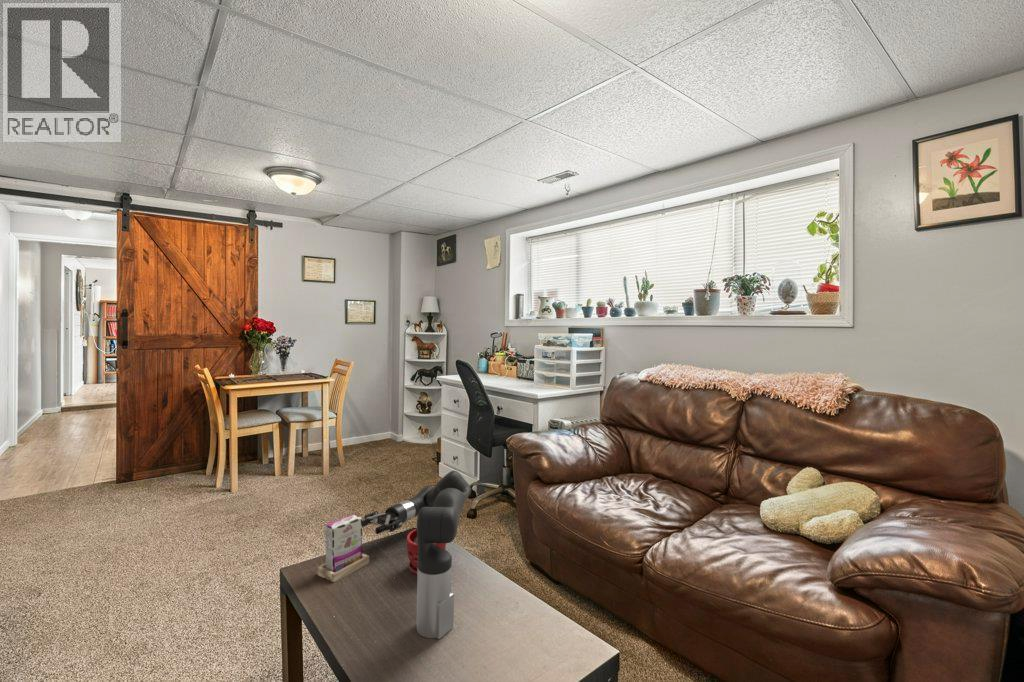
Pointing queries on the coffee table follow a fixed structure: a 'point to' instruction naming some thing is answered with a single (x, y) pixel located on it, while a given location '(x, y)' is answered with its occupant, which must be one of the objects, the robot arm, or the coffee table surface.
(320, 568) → the birch collar
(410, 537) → the plant pot
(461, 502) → the robot arm
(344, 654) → the coffee table surface
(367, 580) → the coffee table surface
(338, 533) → the candy bar box
